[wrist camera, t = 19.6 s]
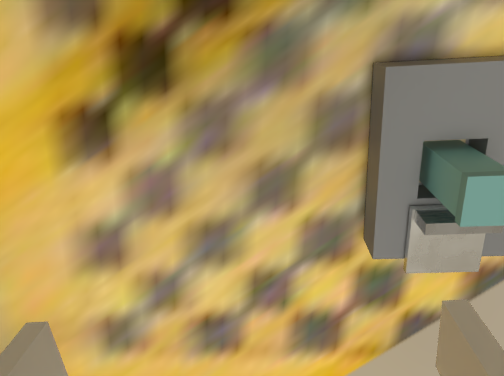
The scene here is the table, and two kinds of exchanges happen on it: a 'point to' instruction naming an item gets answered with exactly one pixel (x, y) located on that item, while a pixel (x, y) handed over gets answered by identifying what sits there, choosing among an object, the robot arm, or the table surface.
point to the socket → (426, 137)
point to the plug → (464, 182)
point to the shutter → (442, 242)
